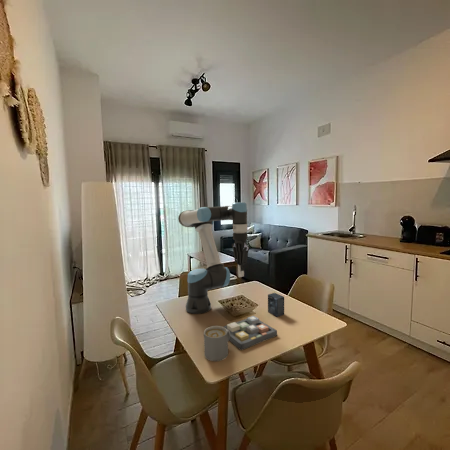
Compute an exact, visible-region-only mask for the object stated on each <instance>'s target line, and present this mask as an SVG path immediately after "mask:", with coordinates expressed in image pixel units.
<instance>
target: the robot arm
mask: <svg viewBox="0 0 450 450" xmlns="http://www.w3.org/2000/svg"><path fill="white" fill-rule="evenodd" d="M231 205H232V206H230V205H225V206H224V205H223V206H222V205H221V206H203V207H199V208H198V209H187V210H184V211H181V212H180V213H179V215H178V217H177V218H178V220H177V221H178V223H179V224H180V225H181V226H182V227H185V228H194V229H195V231H196V232H198V235H199V240H200V243H201V246H202V250H203V254H204V258H205V261H206V262H205V263H206V268H204V267H203V268H195V269H192V270H191V271H189V272H188V273H187V301H186V304H185V311H186V312H187V313H189V314H196V315H198V314H205V313H207V312H209V311H211V310H212V303H211V301H210V298H209V296H208V291H209V290H210V291H211V290H214V289H219V288H224V287H226V286H228V285H229V284H230V281H231V272H230V269H229V268H228V267H226V266H225V265H224V263H223V262H221V260H220V256H219V252H218V248H217V246H216V245H217V244H216V242H215V238H214V235H213V232H212V228H213V225H214V223H215V222H218V221H220V222H221V221H232V239H233V241H234V243H231V247H232V252H233V258H234V262H235V263H236V264H237V277H238V278H242V277H245V265H246V264H248V258H249V257H248V256H249V250H250V249H251V248H250V246H248V245H247V240H248V209H247V208H248V207H247V203H246V202H244V201H243V202H232V204H231Z"/></svg>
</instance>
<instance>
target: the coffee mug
mask: <svg viewBox="0 0 450 450" xmlns="http://www.w3.org/2000/svg"><path fill="white" fill-rule="evenodd" d="M229 339H230V331H229V330H228V329H226V328H224V326H222V325H211V326H209V327H207V328H205V329H204V331H203V347H204V351H203V352H204V358H205V359H206V360H208V361H210V362H220V361H223V360H225V359H226V358H228V355H229V343H228V342H230V341H229Z"/></svg>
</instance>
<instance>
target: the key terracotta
mask: <svg viewBox="0 0 450 450" xmlns="http://www.w3.org/2000/svg"><path fill="white" fill-rule="evenodd" d="M257 327H258V328H259V333H261V334H262V333H266V332H268V331H269V327H267V326H266V325H264V324H261V325H258V326H257Z"/></svg>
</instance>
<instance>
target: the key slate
mask: <svg viewBox="0 0 450 450" xmlns="http://www.w3.org/2000/svg"><path fill="white" fill-rule="evenodd" d="M246 319H247V322H248V323H250V324H251V325H252V324H257V323H259V320H260V318H258V317H257V316H255V315H252V316H248V317H246Z"/></svg>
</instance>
